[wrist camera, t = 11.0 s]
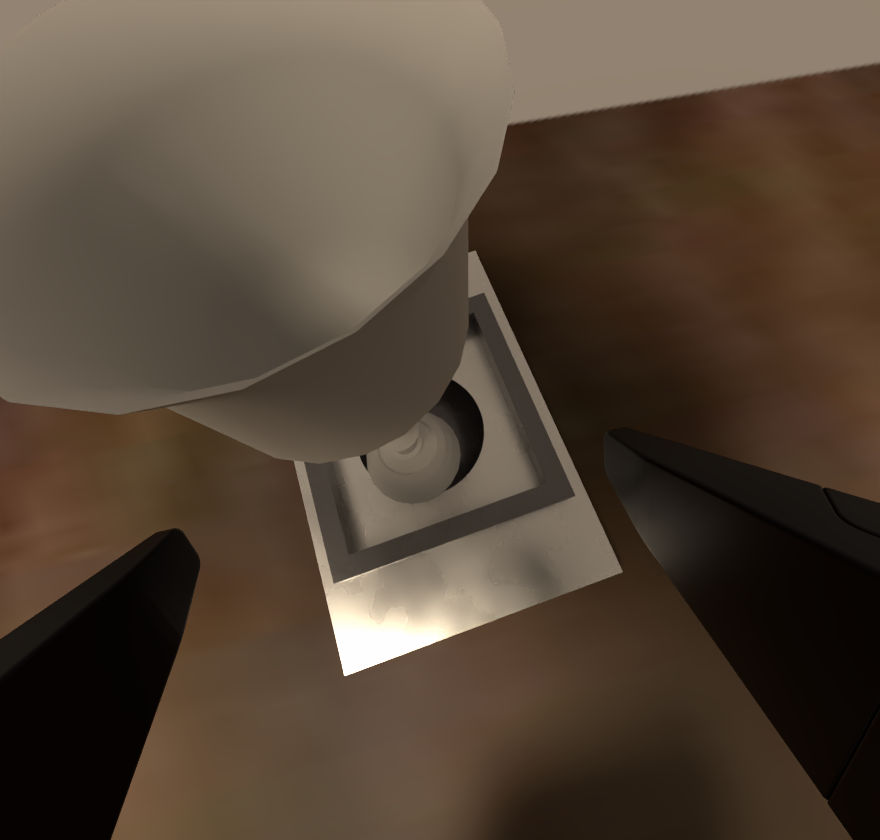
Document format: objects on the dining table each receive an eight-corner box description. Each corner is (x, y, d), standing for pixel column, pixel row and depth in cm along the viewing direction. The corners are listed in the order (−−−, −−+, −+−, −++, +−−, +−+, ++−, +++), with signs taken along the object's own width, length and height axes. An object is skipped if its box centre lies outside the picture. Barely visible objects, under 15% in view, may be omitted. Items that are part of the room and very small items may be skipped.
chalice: (406, 370, 23) (229, -123, 6) (505, 438, 22) (639, 28, 5) (321, 472, 22) (-218, 201, 5) (421, 553, 20) (156, 587, 3)
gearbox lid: (617, 571, 20) (635, 574, 18) (349, 670, 20) (334, 686, 18) (475, 259, 26) (475, 233, 24) (267, 329, 26) (248, 309, 24)
